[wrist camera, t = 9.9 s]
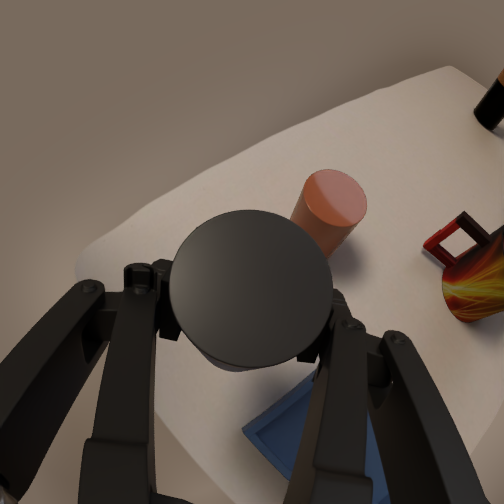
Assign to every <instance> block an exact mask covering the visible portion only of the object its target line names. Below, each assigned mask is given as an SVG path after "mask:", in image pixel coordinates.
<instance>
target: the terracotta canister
mask: <svg viewBox="0 0 504 504" xmlns="http://www.w3.org/2000/svg"><path fill="white" fill-rule="evenodd" d="M366 210H367V200H366V196H365V194H364V192H363V190H362V188H361V187H360V185H359V184H358V183H357V182H356V181H355V180H354V179H353V178H351V177H350V176H348V175H347V174H345V173H342V172H340V171H336V170H329V169H328V170H320V171H317V172H315V173H313V174H312V175H311V176H309V178H308V179H307V180H306V182H305V184H304V187H303V189H302V191H301V194H300V196H299V199H298V201H297V203H296V206H295V208H294V210H293V213H292V215H291V217H290V220H291V221H292V222H294V223H295V224H297V225H298V226H300V227H301V228H302V229H304V230H305V231H306V232H307V233H308V234H309V235H310V236H311V237H312V238H313V239H314V240H315V241H316V243H317V244H318V245H319V247H320V248H321V250H322V252H323V253H324V255H325V257H326V259H328V258H329V257H330V256H331V255H332V254H333V253H334V252H335V251H336V250H337V248H338V247H339V246H340V245H341V244H342V243H343V241H344V240H345V239H346V238H347V237H348V235H349V234H350V233H351V232H352V231H353V230H354V228H355V227H356V226H357V225H358V224H359V222H360V221H361V220H362V219H363V217H364V216H365V213H366Z"/></svg>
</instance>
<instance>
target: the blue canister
mask: <svg viewBox="0 0 504 504" xmlns="http://www.w3.org/2000/svg"><path fill="white" fill-rule="evenodd" d="M169 298H170V303H171V307H172V311H173V314H174V316H175V319H176V321H177V323H178V325H179V326H180V328H181V330H182V331H183V333H184V334H185V335H186V337H187V338H188V339H189V340H190V341H191V342H192V344H193V345H194V346H195V347H196V348H197V349H198V350H199V351H200V352H201V353H202V354H203V355H204V356H205V357H206V359H207V360H209V361H210V362H211V363H212V364H213V365H215V366H217V367H218V368H220V369H223V370H226V371H231V372H242V371H248V370H254V369H259V368H265V367H270V366H275V365H278V364H281V363H284V362H286V361H288V360H290V359H292V358H294V357H296V356H297V355H299V354H300V353H302V352H303V351H305V350H306V349H307V348H308V347H309V346H310V345H311V344H312V343H313V342H314V341H315V340H316V338H317V337H318V336H319V335H320V333H321V331H322V330H323V328H324V327H325V324H326V322H327V320H328V318H329V315H330V311H331V307H332V301H333V281H332V275H331V271H330V267H329V264H328V262H327V260H326V257H325V255H324V253H323V252H322V250H321V248H320V247H319V245H318V244H317V243H316V241H315V240H314V239H313V238H312V237H311V236H310V235H309V234H308V233H307V232H306V231H305V230H304V229H302V228H301V227H300V226H298V225H297V224H295V223H294V222H292V221H291V220H289V219H287V218H285V217H282V216H280V215H277V214H274V213H270V212H266V211H260V210H238V211H232V212H228V213H224V214H221V215H218V216H216V217H214V218H212V219H210V220H208V221H206V222H205V223H203V224H202V225H200V226H199V227H197V228H196V229H195V230H194V231H193V232H192V233H191V234H190V235H189V236H188V237H187V238H186V239H185V241H184V242H183V243H182V245H181V246H180V248H179V249H178V252H177V254H176V256H175V258H174V260H173V263H172V266H171V270H170V276H169Z"/></svg>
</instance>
